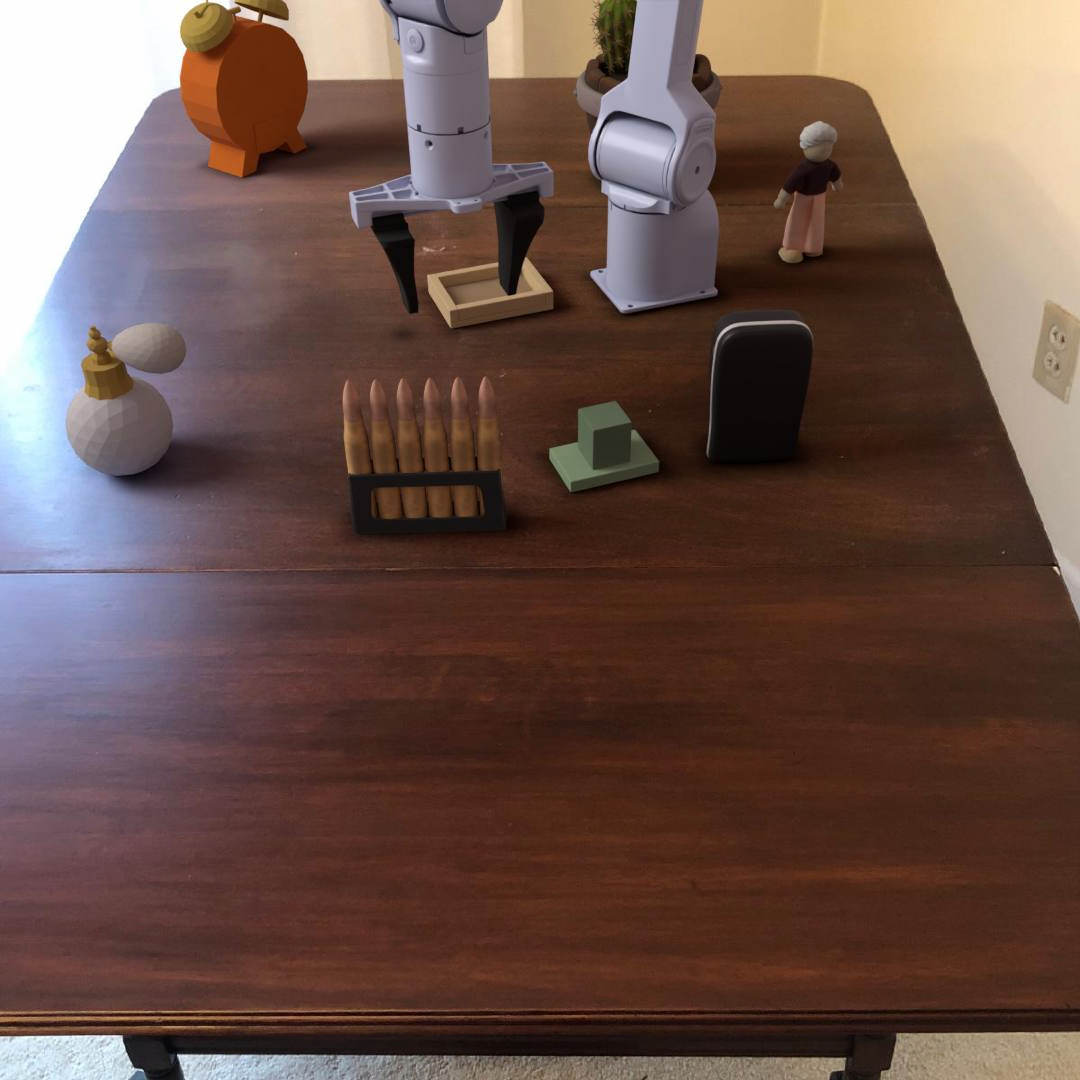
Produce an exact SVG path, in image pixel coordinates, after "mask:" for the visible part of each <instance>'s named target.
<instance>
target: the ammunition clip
mask: <svg viewBox="0 0 1080 1080" xmlns="http://www.w3.org/2000/svg"><path fill="white" fill-rule="evenodd" d="M396 391H397V392H396V433H394V430H393V426H392V423H391V419H390V418H391V417H390V413H389V405H388V401H387V397H386V393H385V391H384V389H383V386H382V385H381V382H380V381H379V380H378V379H377V378H375V379H374V380H373V381H372V384H371V386H370V392H369V413H370V417H369V419H370V431H369V433H368V430H367V429H366V425H365V421H364V415H363V411H362V406H361V401H360V397H359V393H358V392H357V389H356V387H355V385H354V383H353V382H352V380H350V379H347V380H346V381H345V384H344V387H343V393H342V411H343V427H344V429H343V443H344V449H345V450H344V451H345V458H346V465H347V472H348V487H349V489H348V490H349V502H350V513H351V526H352V527H351V528H352V533H354V534H355V535H375V534H378V535H379V534H410V533H411V534H412V533H414V534H415V533H416V534H417V533H446V532H447V533H448V532H453V533H454V532H485V531H486V532H487V531H505V530H506V529H507V509H506V499H505V490H504V477H503V476H504V475H503V457H502V456H503V455H502V454H503V453H502V436H501V435H502V434H501V429H500V426H499V422H498V421H499V420H498V413H497V401H496V396H495V395H496V394H495V392H494V388H493V385H492V383H491V380H490V379H489V377H488V376H486V375H485V376H483V378H482V380H481V383H480V386H479V390H478V398H477V427H476V432H475V434H474V430H473V429H474V428H473V426H472V421H471V414H470V407H469V400H468V394H467V391H466V387H465V385H464V383H463V380H462V379H461V377H459V376H456V377H455V379H454V381H453V384H452V388H451V393H450V427H449V435H448V433H447V430H446V426H445V423H444V416H443V410H442V402H441V398H440V393H439V390H438V388H437V385H436V383H435V381H434V379H433V378H432V377H429V378H427V380H426V382H425V385H424V390H423V400H422V401H423V402H422V408H423V415H422V416H423V428H422V434H421V432H420V428H419V425H418V419H417V414H416V407H415V402H414V398H413V394H412V393H413V392H412V391H411V388H410V385H409V383H408V382H407V380H406V379H405V378H400V381H399V383H398V387H397V390H396ZM421 435H422V436H421ZM475 436H476V438H475ZM395 437H396V438H395ZM448 437H449V438H448ZM369 439H370V441H369ZM448 439H449V443H448ZM475 439H476V447H475ZM449 452H450V453H449ZM449 454H450V455H449Z"/></svg>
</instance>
